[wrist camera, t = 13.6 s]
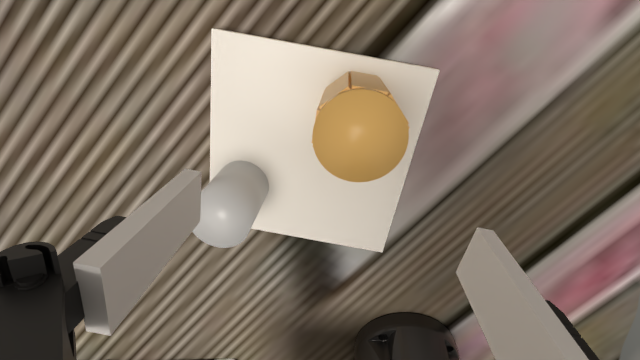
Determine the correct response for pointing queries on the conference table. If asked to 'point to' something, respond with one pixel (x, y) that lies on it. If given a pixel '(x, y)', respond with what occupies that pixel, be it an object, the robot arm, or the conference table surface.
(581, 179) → the conference table surface
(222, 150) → the plate
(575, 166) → the conference table surface
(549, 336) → the robot arm
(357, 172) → the wire cap
